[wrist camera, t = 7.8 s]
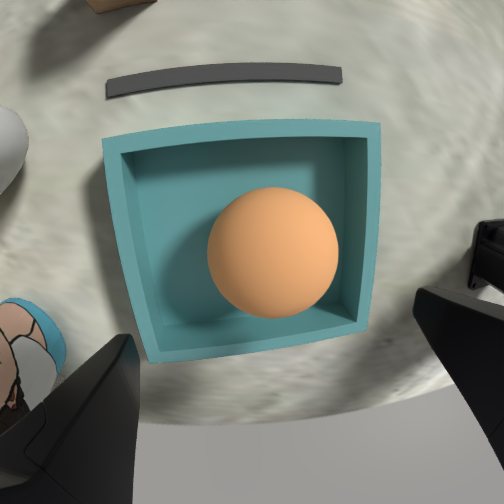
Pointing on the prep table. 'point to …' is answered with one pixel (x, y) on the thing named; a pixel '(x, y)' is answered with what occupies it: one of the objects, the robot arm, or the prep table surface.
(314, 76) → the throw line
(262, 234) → the ball
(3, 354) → the cup
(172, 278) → the tray
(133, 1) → the tee
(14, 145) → the donut
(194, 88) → the prep table surface
